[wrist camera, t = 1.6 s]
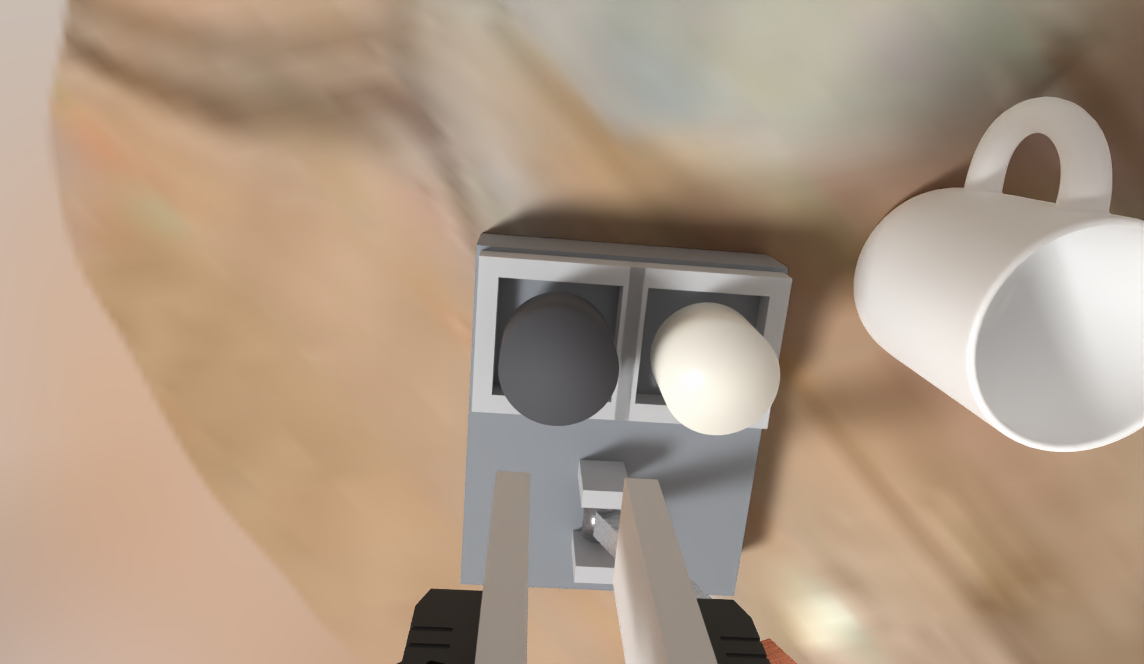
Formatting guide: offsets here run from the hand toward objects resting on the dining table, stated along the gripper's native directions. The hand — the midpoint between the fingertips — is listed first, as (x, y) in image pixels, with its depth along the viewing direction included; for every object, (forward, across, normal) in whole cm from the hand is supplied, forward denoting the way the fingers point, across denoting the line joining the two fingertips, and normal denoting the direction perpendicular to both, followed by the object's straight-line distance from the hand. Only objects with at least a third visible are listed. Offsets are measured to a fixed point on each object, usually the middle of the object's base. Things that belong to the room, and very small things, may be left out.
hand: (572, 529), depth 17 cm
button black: (+14, 0, 0) cm, 14 cm away
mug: (+19, +18, +5) cm, 26 cm away
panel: (+18, +3, -4) cm, 19 cm away
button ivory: (+14, +6, 0) cm, 15 cm away
